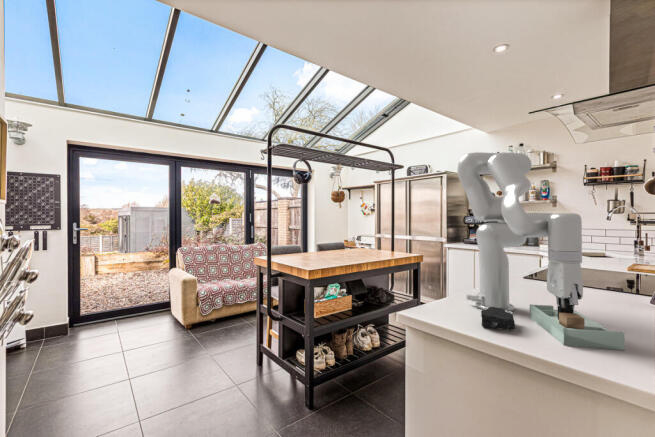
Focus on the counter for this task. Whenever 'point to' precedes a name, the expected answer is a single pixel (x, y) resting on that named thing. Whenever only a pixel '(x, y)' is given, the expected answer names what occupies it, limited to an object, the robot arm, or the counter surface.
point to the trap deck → (576, 330)
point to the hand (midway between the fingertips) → (565, 320)
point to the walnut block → (571, 321)
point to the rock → (498, 318)
